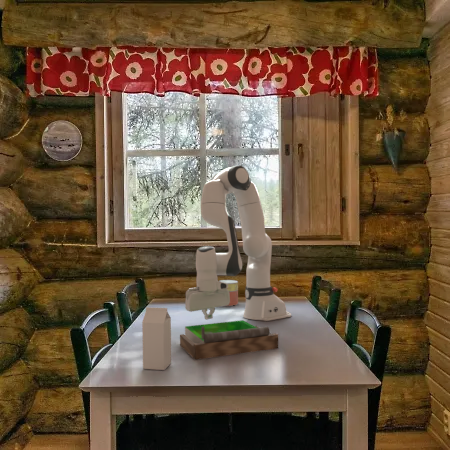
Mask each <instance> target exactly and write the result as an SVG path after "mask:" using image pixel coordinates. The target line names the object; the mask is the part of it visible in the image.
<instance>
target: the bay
mask: <svg viewBox="0 0 450 450" xmlns="http://www.w3.org/2000/svg"><path fill="white" fill-rule="evenodd" d="M254 326H255V327H257V328H252V329H243V330H235V331H226V332H218V333H209V334H205V327H202V339H204V342H201V343H194V342H192V341H191V340H190V339H189V338H188V337H186V336H185V333H184V334H183V333H182V334H179V346H180V347H181V348H182V349H183V350H184V351H185V352H186V353H188V354H189V356H191V357H192V358H193V359H194V360H196V361H197V360H205V359H210V358H217V357H226V356H232V355H234V356H235V355H240V354H247V353H255V352H260V351H269V350H276V349H279V334H278V333H276V332H275V333H271V330H270V327H269V326H262V327H260V326H257V325H254Z"/></svg>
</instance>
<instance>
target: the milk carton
mask: <svg viewBox="0 0 450 450" xmlns="http://www.w3.org/2000/svg"><path fill="white" fill-rule="evenodd" d="M171 318H172V317H171V315H170V313H169V312H168V308H167V307H153V306H152V307H149V306H148V307H147V306H146V307H145V312H144V316H143V319H142V322H141V323H142V330H141V331H142V369H143V370H157V371H165V370H166V369H167V368H168V367H169V366H170V365H171V364H172V325H171V323H172V321H171V320H172V319H171Z"/></svg>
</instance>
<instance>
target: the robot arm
mask: <svg viewBox="0 0 450 450" xmlns="http://www.w3.org/2000/svg"><path fill="white" fill-rule="evenodd" d="M258 191H259V190H258V188H257V187H256V184H255V183H254V182H253V181H252V179H251V176H250V173H249V171H248V170H247V168H246V167H244V166H243V165H233V166H231V167H226V168H225V169H223V170H221V171H219V172H216V174H214V175H213V176H212V177H211V180H209V181H207V182H206V183H204V185H203V188H202V193H201V200H200V201H201V203H200V212H201V217H202V219H203V220H204V221H205V222H206V223H207V224H209V225H211V226H213V227H216V228H219V229H221V230H223V231H224V233H225V234H226V240H227V241H226V242H227V246H228V252H216V248H215V247H214V246H212V245H211V246H210V245H204V246H201V247H200V246H199V248H197V250H196V253H195V255H196V256H195V269H196V280H195V281H196V287H190V288H188V289H187V290H186V291H185V302H184V304H185V306H184V307H185V310H186V311H187V312H190V313H192V312H197V311H201V313H202V314H203V316H204V320H213V317H214V316H213V315H214V313H215V311H216V309H215V308H219V307H226V306H225V305H229V303H230V294H229V290H228V289H227V288H228V284H227V283H224V282H221V281H220V280H218V279H219V278H218V276H230V277H236V276H237V275H238V274H240V272H241V271H242V270H243V259H242V257H241V253H240V247H239V241H238V234H237V230H236V224H235V221H234V219H233V217H232V216H231V215H230V214H229V213H228V210H227V195H229V194H233V196H235V199H236V206H237V209H238V210H237V212H238V216H239V220H240V225H241V227H240V228H241V238H242V249H243V252H244V254H245V255H246V256H248V257H247V265H246V269H245V270H246V275H245V276H246V277H245V278H246V279H245V280H246V283H245V284H246V285H245V291H244V292H245V293H244V295H245V306H244V312H243V315H242V317H243V318H245V319H247V320H256V321H265V322H266V321H267V322H268V321H274V320H280V319H286V318H291V317H292V313H291V312H289V311H287V306H286V303H285V302H284V301H283V300H282V299H281V298H280V297H278V296H277V295H276V294H274V293H277V292H278V288H277V287H272V286H271V265H272V264H271V263H272V262H271V261H272V251H273V250H272V249H273V248H272V247H273V241H272V239H271V237H270V236H269V235H268V234H267V233H266V227H265V226H266V225H265V216H264V210H263V206H262V202H261V201H262V200H261V198H260V194H259V192H258ZM208 310H209V313H208Z"/></svg>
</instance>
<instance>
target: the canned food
mask: <svg viewBox="0 0 450 450" xmlns="http://www.w3.org/2000/svg"><path fill="white" fill-rule="evenodd" d="M219 281H221V282H224V283H227V284H228V288H227V289H228V290H229V294H230V303H229V305H225V306H224V307H234V306H233V305H235V306H238V305H239V281H238V280H234V279H221V280H219ZM237 304H238V305H237Z"/></svg>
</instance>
